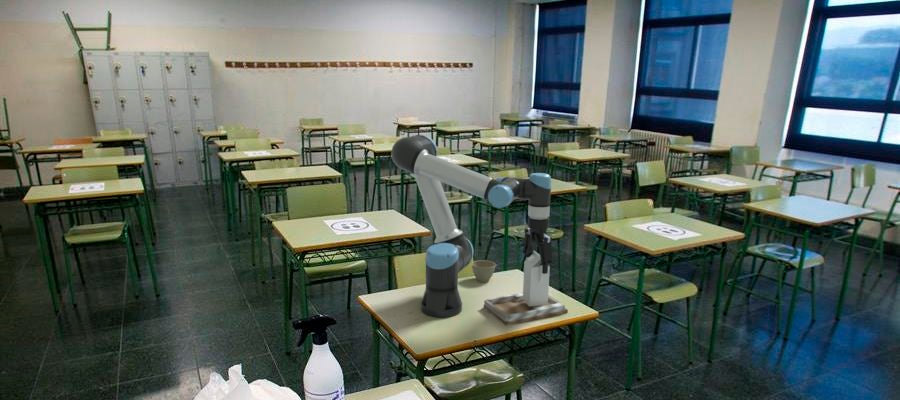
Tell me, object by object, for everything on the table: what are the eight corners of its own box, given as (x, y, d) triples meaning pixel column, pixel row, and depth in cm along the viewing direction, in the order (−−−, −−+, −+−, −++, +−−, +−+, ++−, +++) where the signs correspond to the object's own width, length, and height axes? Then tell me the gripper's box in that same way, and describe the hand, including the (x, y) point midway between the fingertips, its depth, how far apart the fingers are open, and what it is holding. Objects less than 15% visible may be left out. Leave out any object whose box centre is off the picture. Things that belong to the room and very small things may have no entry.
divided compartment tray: (505, 325, 177) (506, 316, 176) (483, 307, 191) (483, 299, 191) (567, 312, 188) (568, 304, 187) (541, 296, 202) (542, 289, 201)
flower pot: (493, 285, 214) (494, 268, 212) (469, 283, 215) (469, 266, 214) (496, 276, 223) (496, 261, 222) (473, 274, 225) (473, 259, 224)
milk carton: (540, 298, 195) (542, 249, 191) (547, 305, 188) (550, 255, 184) (522, 299, 193) (524, 250, 189) (529, 307, 186) (531, 256, 183)
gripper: (565, 222, 176) (561, 285, 181) (531, 209, 195) (528, 267, 199) (547, 224, 173) (544, 288, 178) (514, 211, 192) (512, 269, 196)
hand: (536, 277), depth 189 cm, fingers closed on milk carton, 8 cm apart
